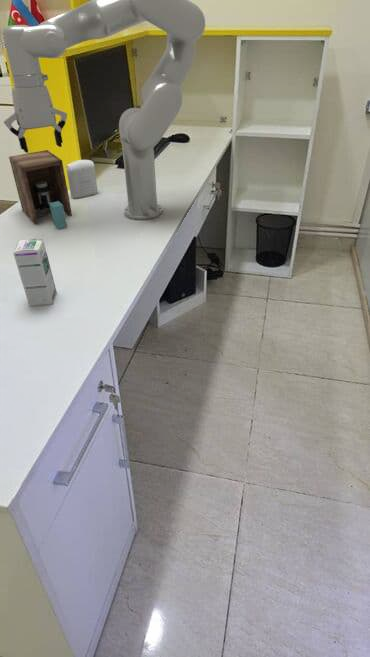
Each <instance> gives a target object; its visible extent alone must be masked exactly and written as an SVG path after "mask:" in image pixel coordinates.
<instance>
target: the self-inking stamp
mask: <svg viewBox="0 0 370 657" xmlns="http://www.w3.org/2000/svg"><path fill="white" fill-rule="evenodd" d="M35 184H36V185H34V186H33V187H34V189H35V191H36V192H37V193H38V196H39V200H40V202H39V203H40V205H38V207H37V208H38V209H35V211H37V210H41V209H45V208H50V205H49V203H51V201H50V196H49V190H50V184H48V183H47V182H46V181H38V182H36V183H35ZM35 208H36V207H35Z"/></svg>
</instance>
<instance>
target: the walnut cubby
mask: <svg viewBox="0 0 370 657" xmlns="http://www.w3.org/2000/svg"><path fill="white" fill-rule="evenodd" d="M8 158H9V159H8V160H9V164H10V166H11V171H12V174H13V178H14V183H15V186H16V191H17V195H18V199H19V201H20V207H21V209H22V212H23V214H24V215H26V217H27V218H28V219H29V220H30V221H31V223H33V224H34V225H35V226H36V225H38V224H39V223H38V219H37V218H38V217H36V214H35V211H36V209H34V205H33V203H35V202H39V201H40V200H39V196H38V193H37V192H36V191H35V189H34V187H33V186H34V185H36V184H35V183H36V182H38V181H46V182H47V183H48V184H50V190H49V196H50V199H53V198H55V199H56V200H57V201H59V202H60V203H61V204H62V205H63V208H64V213H65V214H66V215H67V216H68V217H73V213H72V208H71V207H72V206H71V203H70V196H69V192H68V191H69V190H68V186H67V181H66V174H65V170H64V165H63V160H62V159H61V158H60V157H58V156H57V155H55V154H54V153H52V152H51V151H50V150H48V149H46V150H45V149H44V150H39V151H33V152H28V153H23V154H17V155H10V156H8ZM37 209H39V208H37Z"/></svg>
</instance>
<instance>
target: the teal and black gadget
mask: <svg viewBox="0 0 370 657" xmlns="http://www.w3.org/2000/svg"><path fill="white" fill-rule="evenodd" d="M50 201H51V203H49V205H50V208H45V209H41V210H36V209H37V207H38V205H40V203H39V202H40V201H39V202H35V203H33V205H34V209H35V214H36V218H39V217H42V216H47V215H49V216H50V217H52V222H53V225H54V227H55V228H56V229H57V230H59V229H62V228H63V229H64V228H67V227H68V224H67V218H66V215H65V214H66V213H65V212H64V208H63V205H62V204H61V203H60V202H59V201H57V200H56V199H55V198H53V199H50ZM35 207H36V208H35Z"/></svg>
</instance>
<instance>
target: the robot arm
mask: <svg viewBox="0 0 370 657" xmlns="http://www.w3.org/2000/svg"><path fill="white" fill-rule="evenodd" d="M143 22H148V23H149V24H151V25H153V26H154V27H157V29H159V30H162V31H164V32H165V34H166V47H165V50H164V52H163V55H162V57H161V58H160V60H159V62H158V63H157V65H156V66H155V68H154V70H153V71H152V72H151V74H150V76H149V77H148V78H147V79H146V81H145V83H144V85H143V87H142V89H141V99H142V102H143V103H142V105H141V106H140V108H138V107H130V108H128V109H125V111H124V112H123V113H121V116H120V118H119V122H118V131H119V132H118V133H119V139H120V143H121V149H122V157H123V165H124V167H123V168H124V175H125V176H124V178H125V186H126V187H125V188H126V196H127V204H128V205H127V206H126V207H125V208H124V209H123V210H124V212H123V213H124V215H125V217H127V218H130V219H133V220H140V221H141V220H150V219H153V218H156V217H159V216H160V215H161V214H162V213H163V206H161V205H160V204H159V203H158V198H157V197H158V195H157V194H158V193H157V181H156V180H157V179H156V165H155V150H154V147H156V145H158V143H159V142H160V141H161V139H162V138H163V136H164V135H165V134H166V132H167V131H168V129H169V128H170V126H171V125H172V123H173V122H174V120H175V119H176V117H177V116H178V114H179V112H180V110H181V108H182V105H183V93H182V90H181V87H182V86H183V84H184V82H185V81H186V78H187V77H188V75H189V73H190V72H191V70H192V67H193V65H194V64H195V63H194V61H195V59H196V58H195V57H196V42H197V41H198V40H199V39H201V37H202V36H203V35H204V32H205V28H206V18H205V15H204V13H203V11H202V9H201V8H200V7H199V6H198V5H196V4H195V3H193V2H192V1H190V0H89V1H86V2H85V3H83V4H82V5H80V6H78V7H77V6H76V7H75V8H73V9H71V10H68V11H65V12H64V13H61V14H58V15H57V16H54V17H51V18H48V19H46V20H45V21H42V22H40V23H39V24H38V25H34V26H29V25H27V24H14V25H7V26H4V27H3V28H2V37H3V42H4V46H5V50H6V55H7V58H8V59H7V60H8V64H9V68H10V72H11V76H12V81H13V86H14V87H13V88H11V97H12V103H13V104H12V105H13V110H14V113H12V114H11V115H10V116H9V117H7V118H6V119H5V120H4V121H3V124H4V125H5V126H6V127H7V129H8V130H9V132H11V133H12V134H13V135H15V136H16V137H18V142H19V146H20V149H21V150H22V151H23V152H25V154H28V153H29V148H28V144H27V139H26V137H25V136H24V135H25V133H26V131H27V130H35V129H41V128H48V127H52V128H53V129H54V131H53V133H54V134H53V135H54V140H55V144H56V146H58V147H59V148H62V147H63V145H62V144H63V138H62V131H63V129H64V127H65V125H66V121H67V119H68V113H67V112H65V111H63V110H60V109H57V108H55V107H54V105H53V102H52V98H51V95H50V92H49V89H48V87H47V85H46V84H45V82H46V81H49V76H48V74H44V73H42V69H41V64H40V59H39V58H45V59H58V58H60V57H62V56H64V54H65V52H66V51H67V49H69V48H71V47H73V46H75V45H76V46H77V45H78V44H82V43H84V42H87V41H93V40H103V39H106V38H109V37H111V36H113V35H116V34H118V33H120V32H122V31H125V30H127V29H129V28H131V27H135V26H137V25H139V24H141V23H143ZM56 115H58V116H60V120H59V122H58V123H57V118H56ZM15 121H16V124H17V125H18V126H19V127H18V128H17V129H15V127H14V126H13V125H12V124H13V123H14V122H15Z"/></svg>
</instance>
